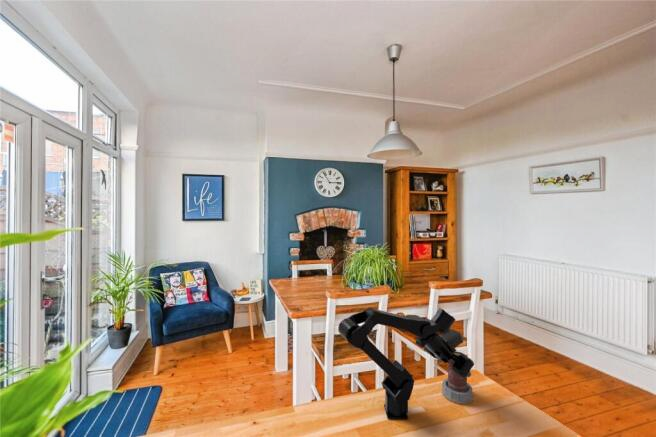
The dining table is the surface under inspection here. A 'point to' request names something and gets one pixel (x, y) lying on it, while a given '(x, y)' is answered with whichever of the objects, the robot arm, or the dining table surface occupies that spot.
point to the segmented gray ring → (457, 394)
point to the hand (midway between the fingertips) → (459, 368)
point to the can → (456, 378)
